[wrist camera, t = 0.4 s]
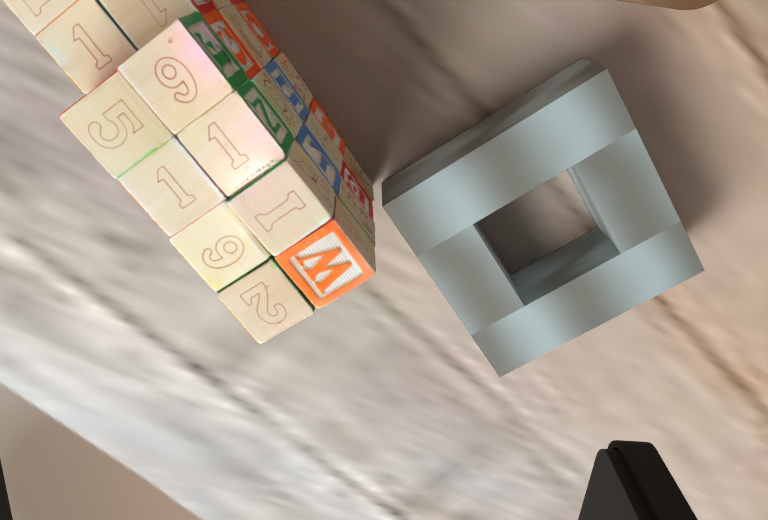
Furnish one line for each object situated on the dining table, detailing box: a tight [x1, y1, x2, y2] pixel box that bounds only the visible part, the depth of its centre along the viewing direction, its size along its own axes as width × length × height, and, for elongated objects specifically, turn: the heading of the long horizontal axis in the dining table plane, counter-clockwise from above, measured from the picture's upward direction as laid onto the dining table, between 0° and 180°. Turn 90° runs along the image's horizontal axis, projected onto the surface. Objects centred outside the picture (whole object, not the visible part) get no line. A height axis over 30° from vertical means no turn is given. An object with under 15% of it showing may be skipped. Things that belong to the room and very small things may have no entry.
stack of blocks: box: [3, 0, 376, 343], centre depth 29 cm, size 21×6×12 cm, turn 33°
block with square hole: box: [382, 58, 704, 377], centre depth 37 cm, size 13×13×4 cm
